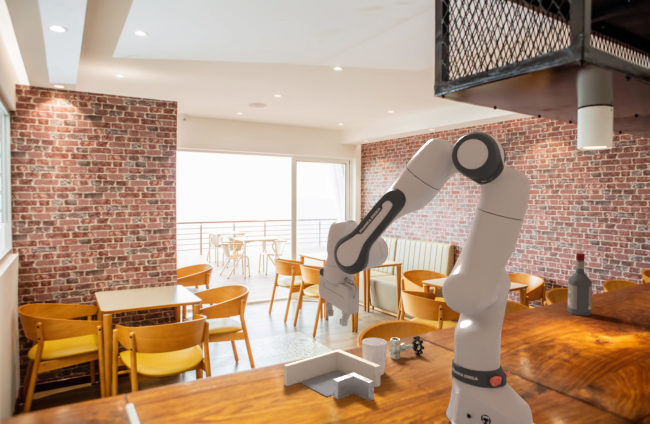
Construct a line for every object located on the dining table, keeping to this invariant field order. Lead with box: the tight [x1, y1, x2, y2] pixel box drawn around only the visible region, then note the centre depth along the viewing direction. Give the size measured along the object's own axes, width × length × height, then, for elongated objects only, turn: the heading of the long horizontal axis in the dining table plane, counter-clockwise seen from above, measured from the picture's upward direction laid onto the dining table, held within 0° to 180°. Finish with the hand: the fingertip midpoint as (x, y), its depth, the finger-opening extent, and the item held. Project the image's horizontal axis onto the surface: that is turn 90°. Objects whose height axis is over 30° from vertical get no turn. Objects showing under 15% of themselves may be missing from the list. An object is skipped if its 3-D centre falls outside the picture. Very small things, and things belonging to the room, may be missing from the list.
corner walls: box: [283, 348, 382, 388], centre depth 130 cm, size 18×22×6 cm
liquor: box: [566, 252, 593, 317], centre depth 218 cm, size 9×9×30 cm
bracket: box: [332, 372, 375, 402], centre depth 121 cm, size 8×8×5 cm
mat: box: [300, 370, 347, 398], centre depth 131 cm, size 12×15×1 cm
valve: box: [388, 335, 425, 360], centre depth 155 cm, size 7×7×12 cm
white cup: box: [361, 337, 388, 376], centre depth 140 cm, size 8×8×10 cm
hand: (336, 320), depth 129 cm, fingers open, 8 cm apart
